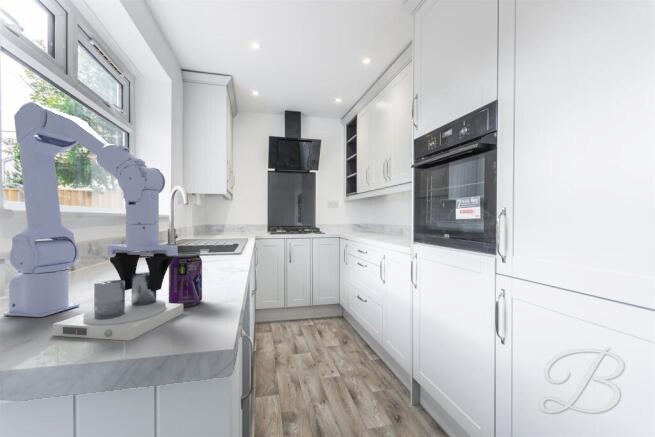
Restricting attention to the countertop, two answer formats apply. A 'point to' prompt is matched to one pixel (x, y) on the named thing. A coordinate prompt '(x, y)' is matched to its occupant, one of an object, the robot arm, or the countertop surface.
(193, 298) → the beverage can
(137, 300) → the steel spacer
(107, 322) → the kitchen scale
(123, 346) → the countertop surface
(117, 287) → the steel spacer
